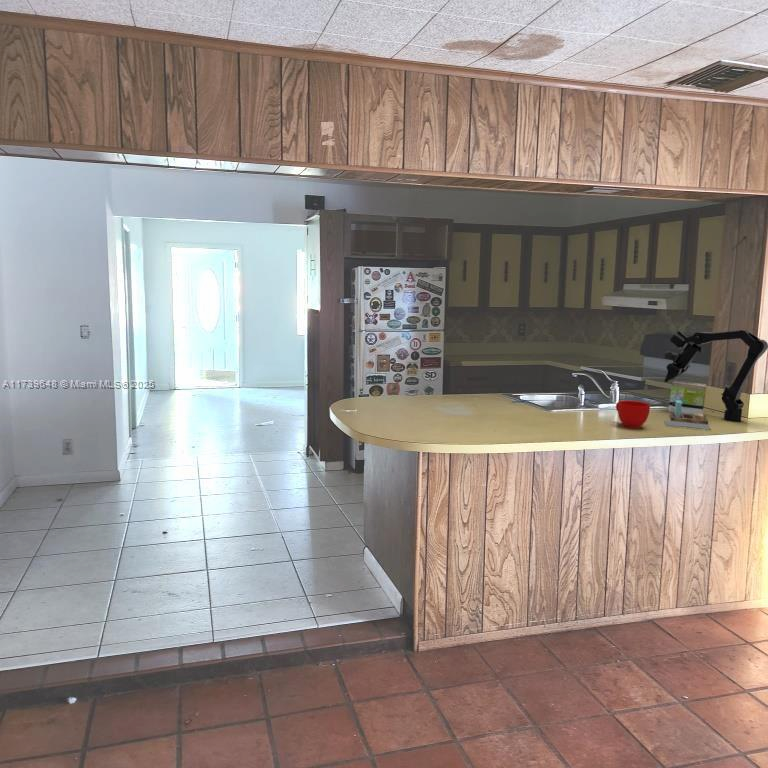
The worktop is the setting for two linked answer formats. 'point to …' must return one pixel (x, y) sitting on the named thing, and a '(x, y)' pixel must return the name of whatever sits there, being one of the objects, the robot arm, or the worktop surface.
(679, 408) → the teal flat block
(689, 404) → the tea box
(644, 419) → the ceramic cup
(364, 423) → the worktop surface
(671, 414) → the tray
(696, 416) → the offcut upper
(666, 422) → the mat
